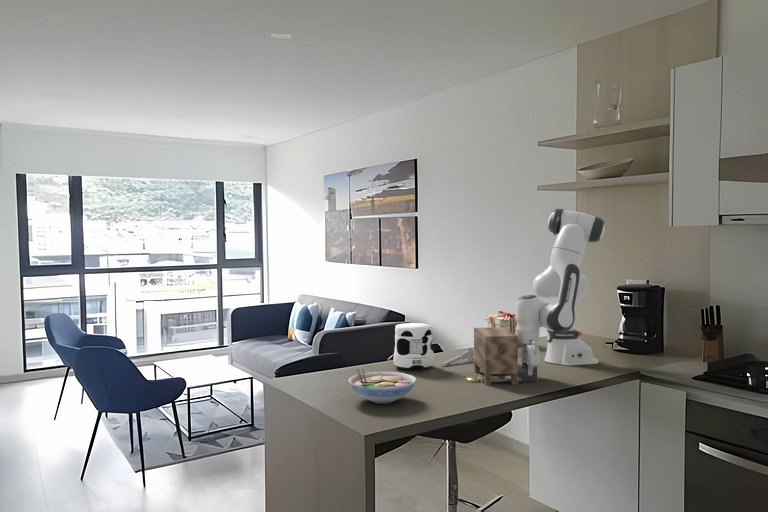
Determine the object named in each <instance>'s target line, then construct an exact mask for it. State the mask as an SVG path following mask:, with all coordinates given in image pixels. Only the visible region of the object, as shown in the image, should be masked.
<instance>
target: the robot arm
mask: <svg viewBox="0 0 768 512" xmlns="http://www.w3.org/2000/svg"><path fill="white" fill-rule="evenodd" d="M605 224H606V223H605V220H604V219H603V218H601V217H599V216H593V215H591V214H588V213H584V212H582V211H580V212H578V211H574V210H569V209H568V210H567V209H563V208H556V209H554V210H552V212H551V213H550V215H549V216H548V218H547V228H548V230H549V232H551V233H552V234H553V235H554V236H556V238H555V241H554V243H553V246H552V250H551V254H550V259H549V261H550V262H549V265H548V267H546V269H545V270H543V271H542V272H541V273H540V274H538V275H536V276H535V278H534V279H533V281H532V282H533V283H532V291H533V292H534V294H529V295H528V294H526V295H522V296H520V297H519V298H517V300H516V305H515V313H516V322H517V326H516V333H515V335H517V336H518V359H519V360H521V364H522V363H526V364H527V366H528V368H527V375H532V371H533V367H537V368H538V367H540V364H541V358H540V357H541V355H540V348H539V346H538V345H537V344H539V343H540V328H544V329H547V330H546V339H547V340H546V341H547V347H546V353H545V356H544V361H545V362H547V363H548V364H549V363H550V364H555V365H563V366H581V365H584V366H585V365H596V364H597V365H598V364H599V359H597V358H596V357H594V355H593V350H592V348H591V347H590V346H589V345H588V344H586V343H585V342H584V341H583V340H582V339H580V338H579V337H582V336H583V332H582V331H580V330H577V329H575V322H576V321H575V319H576V316H575V315H576V311H577V307H578V306H579V305H578V304H579V303H580V301H581V300H582V299H583V297H585V296H586V295H587V294H588V292H589V290H590V281H589V278H588V277H587V276H586V275H585V274H582V273H580V266H581V265H582V261H583V258H584V254H585V250H586V247H587V242H588V243H597V242H600V240H601V239H602V238H603V236H604V234H605V231H606V225H605ZM541 298H543V299H545V298H546V299H557V301H556V303H555V304H554V303H550V302H548V301H545V300H543V299H541Z"/></svg>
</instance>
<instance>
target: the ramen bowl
mask: <svg viewBox="0 0 768 512" xmlns="http://www.w3.org/2000/svg"><path fill="white" fill-rule="evenodd" d="M356 372H357V374H355V375H353V376H351V377H349V379H347V381H348V383H349V385H350V386H351V388H352V390H353V391H354V392H355V393H356V394H357V396H359V397H360V398H362V399H365V400H367V401H370V402H371V403H374V404H377V405H378V404H379V405H381V404H383V405H385V404H391V403H393V402H394V401H397V400H401V399H402V398H404V397H406V396H407V395H408V394H409V393H410V392H411V390H412V389H413V388H414V385H415V383H416V381H417V378H416V377H415V376H413V375H412V374H411V375H410V374H407V373H403V372H397V371H396V372H395V371H394V372H393V371H372V372H365V369H364V368H363V369H361V371H360V369H359V368H358V369H356ZM361 372H362V373H361Z"/></svg>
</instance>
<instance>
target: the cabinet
mask: <svg viewBox="0 0 768 512" xmlns="http://www.w3.org/2000/svg"><path fill="white" fill-rule="evenodd" d="M473 353H474V360H473V372H474V371H475V372H480V373H481V371H482V372H483V373H484V376H485V382H484V385H486V386H491V385H492V382H491V376H492V375H509V374H510V376H511V382H510V384H511V385H518V384H519V381H518V364H519V361H518V359H519V358H518V336H517V335H515V334H513V333H512V332H510V331H508V330H507V329H505V328H503V327H494V328H488V327H473ZM475 372H474V373H475Z"/></svg>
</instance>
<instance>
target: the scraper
mask: <svg viewBox="0 0 768 512" xmlns="http://www.w3.org/2000/svg"><path fill="white" fill-rule="evenodd" d="M527 368H528V366H527V364H526V363H522V362H521V364H520V363H518V382H522V383H524V384H525V383H526V384H527V381H529V382H530V381H532V382H533V381H534V382H535V381H538V367H533V371H532V375H527ZM477 377H478V378H479V382H480V383H485V375H484V376H483V374H481V373H477ZM496 382H497V383H498V382H500V383H501V382H504V383H505V382H506V383H507V382H510V383H511V375H491V383H496Z"/></svg>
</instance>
